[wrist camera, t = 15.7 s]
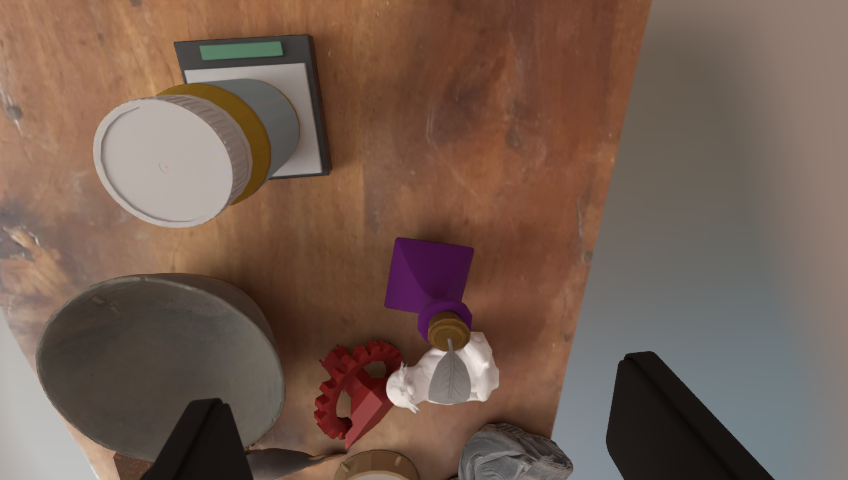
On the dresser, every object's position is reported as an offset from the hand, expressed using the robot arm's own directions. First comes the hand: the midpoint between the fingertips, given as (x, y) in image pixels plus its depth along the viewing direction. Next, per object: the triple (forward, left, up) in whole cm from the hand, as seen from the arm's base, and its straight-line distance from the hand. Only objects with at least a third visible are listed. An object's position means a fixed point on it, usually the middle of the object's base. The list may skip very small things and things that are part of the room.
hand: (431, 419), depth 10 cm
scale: (-5, -11, -30) cm, 33 cm away
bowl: (+14, -20, -30) cm, 39 cm away
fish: (+31, -17, -24) cm, 43 cm away
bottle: (-4, -11, -28) cm, 30 cm away
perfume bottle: (+11, +2, -31) cm, 32 cm away
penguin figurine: (+21, +9, -27) cm, 35 cm away
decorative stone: (+40, +13, -23) cm, 48 cm away
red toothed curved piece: (+25, -4, -25) cm, 36 cm away
